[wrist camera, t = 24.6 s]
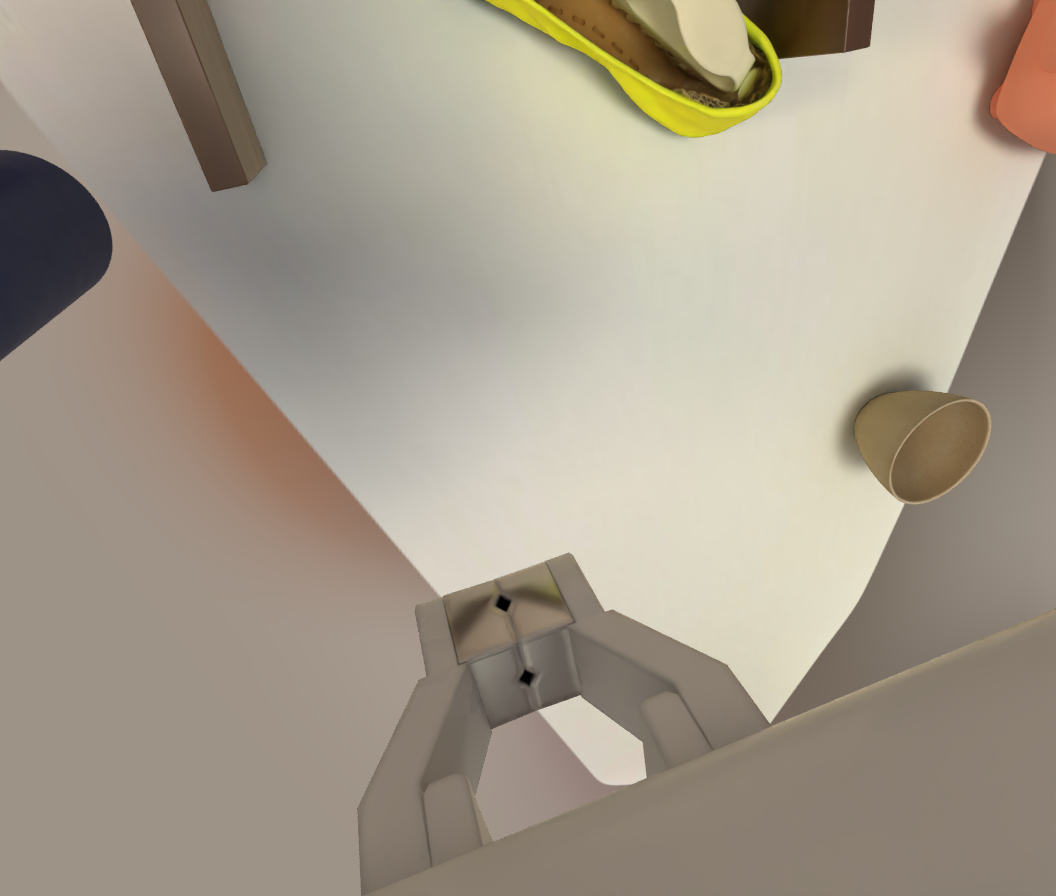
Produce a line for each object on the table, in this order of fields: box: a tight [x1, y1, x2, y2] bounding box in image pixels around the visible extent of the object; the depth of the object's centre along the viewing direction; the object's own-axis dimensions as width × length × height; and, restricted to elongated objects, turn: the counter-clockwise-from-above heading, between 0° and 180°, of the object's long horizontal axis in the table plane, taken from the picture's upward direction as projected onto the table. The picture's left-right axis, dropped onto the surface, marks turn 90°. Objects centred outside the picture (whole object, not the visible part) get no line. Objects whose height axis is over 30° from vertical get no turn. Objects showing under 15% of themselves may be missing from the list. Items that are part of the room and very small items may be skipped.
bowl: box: [854, 391, 991, 504], centre depth 54 cm, size 10×10×7 cm
